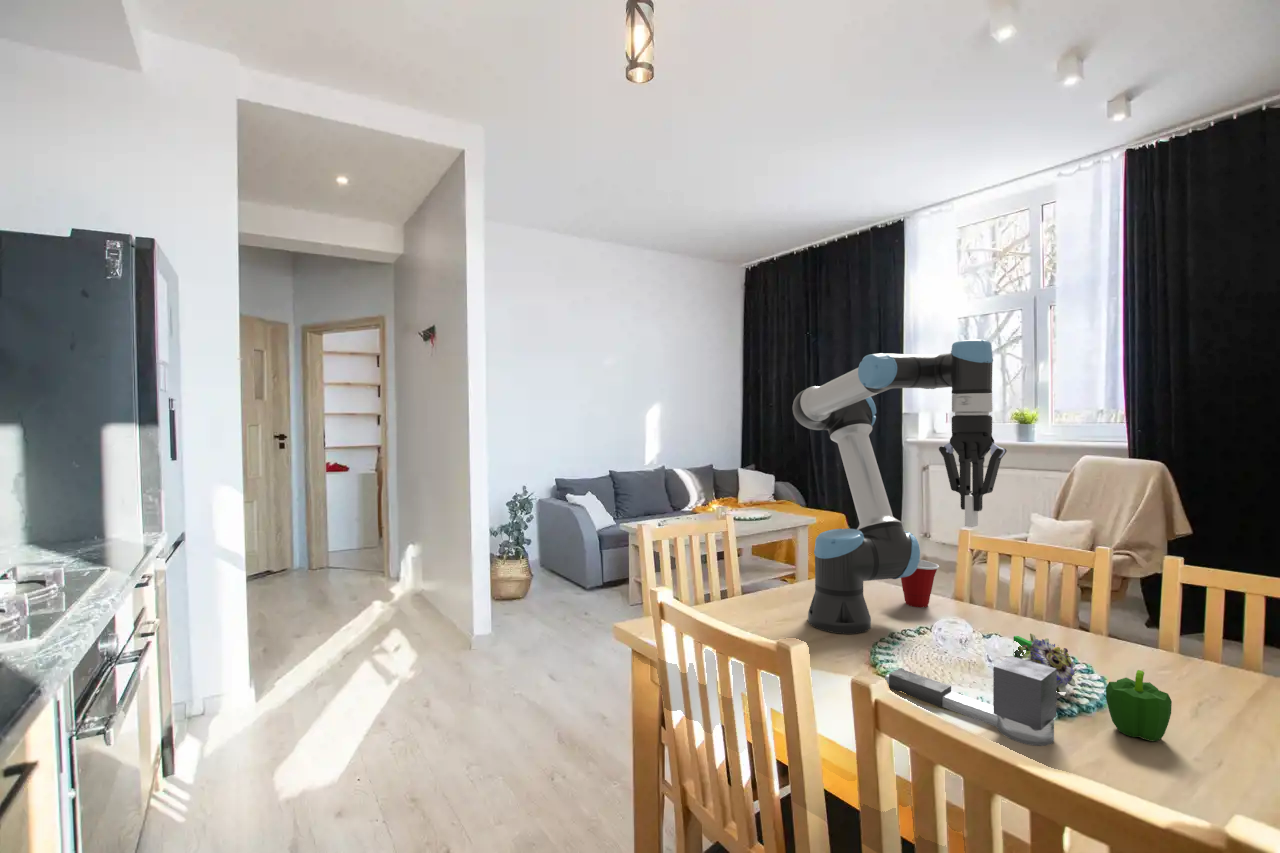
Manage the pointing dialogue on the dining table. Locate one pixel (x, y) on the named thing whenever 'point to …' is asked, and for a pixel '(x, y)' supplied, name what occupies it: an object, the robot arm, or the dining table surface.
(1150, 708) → the bell pepper
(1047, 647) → the passion flower
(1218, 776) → the dining table surface
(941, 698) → the ratchet
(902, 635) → the dining table surface
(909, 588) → the plastic cup
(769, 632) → the dining table surface
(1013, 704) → the dark grey cube
